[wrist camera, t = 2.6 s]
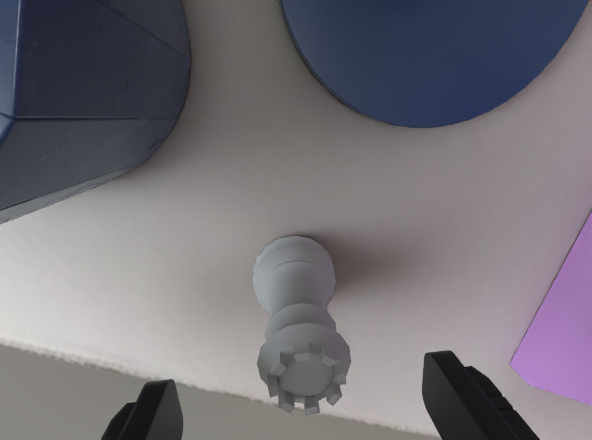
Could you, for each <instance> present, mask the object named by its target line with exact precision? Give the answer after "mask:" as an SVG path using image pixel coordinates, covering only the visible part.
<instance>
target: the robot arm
mask: <svg viewBox="0 0 592 440" xmlns="http://www.w3.org/2000/svg"><path fill="white" fill-rule="evenodd" d="M422 395H423V400H424V404H425V407H426V409H427V411H428V413H429V415H430V417H431V419H432V421H433V423H434V425H435V427H436V429H437V430H438V432H439V434H440V436H441V438H442V440H540V439H539V438H538V437H537V436H536V434H535V433H534V432H533V431H532V429H531V428H530V427H529V426H528V425H527V423H526V422H525V421H524V420H523V419H522V417H521V416H520V415H519V414H518V413H517V411H516V410H513V407H512V405H511V404H510V403H509V402H508V401H507V399H506V398H505V397H503V396H502V393H501V392H500V391H499V390H498V389H497V387H496V386H495V385H494V384H493V383H492V381H491V380H490V379H489V378H488V377H486V376H485V375H484V374H482V373H481V372H479V371H478V370H476V369H475V368H474V367H472V366H468V367H464V366H463V365H462V363H461V362H460V361H459V359H458V358H457V357H456V355H455V354H454V353H453V352H452V351H450V350H448V351H438V352H429V353H426V354H425V356H424V368H423V382H422ZM182 432H183V415H182V411H181V406H180V403H179V398H178V394H177V390H176V385H175V382H174V380H172V379H170V380H161V381H152V382H147V383H146V384H145V385H144V387H143V389H142V391H141V393H140V395H139V397H138V399H137V401H136V402H134V403H127V404H126V405H125V406H124V407H123V408H122V409H121V410H120V411H119V412H118V413H117V414H116V415H115V416H114V418H113V419H112V420H111V422H110V424H109V425H108V427H107V429H106V431H105V433H104V435H103V436H102V439H101V440H181V438H182Z"/></svg>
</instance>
